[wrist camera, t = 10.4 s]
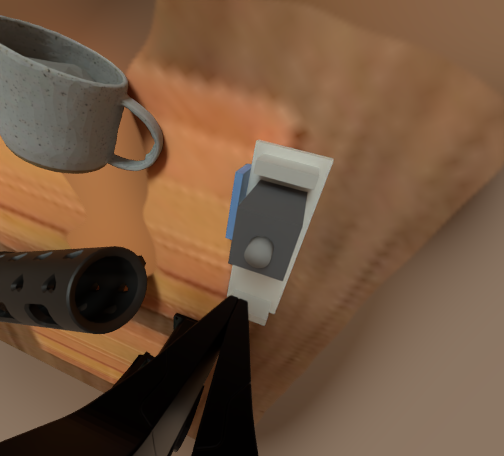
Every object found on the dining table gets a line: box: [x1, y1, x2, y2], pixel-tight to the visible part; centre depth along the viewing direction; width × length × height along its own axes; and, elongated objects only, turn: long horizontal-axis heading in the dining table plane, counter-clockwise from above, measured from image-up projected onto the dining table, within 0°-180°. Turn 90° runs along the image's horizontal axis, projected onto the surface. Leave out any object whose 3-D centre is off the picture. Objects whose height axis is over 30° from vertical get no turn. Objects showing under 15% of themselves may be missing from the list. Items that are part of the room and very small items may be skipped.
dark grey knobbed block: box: [228, 180, 308, 281], centre depth 16 cm, size 4×4×7 cm
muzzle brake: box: [0, 246, 147, 334], centre depth 28 cm, size 10×28×10 cm, turn 103°
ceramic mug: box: [0, 16, 163, 174], centre depth 17 cm, size 11×8×8 cm
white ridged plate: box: [226, 140, 334, 326], centre depth 20 cm, size 18×7×3 cm, turn 168°
